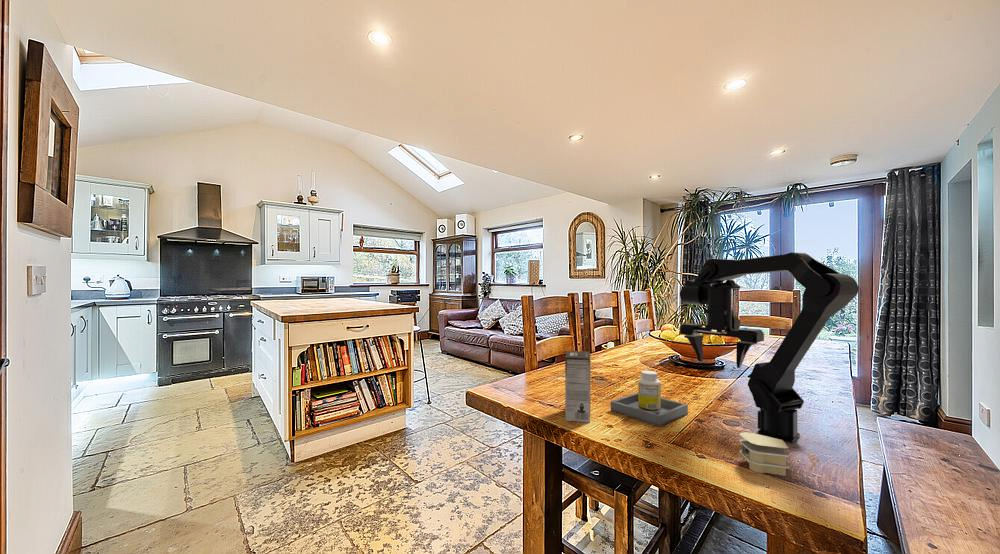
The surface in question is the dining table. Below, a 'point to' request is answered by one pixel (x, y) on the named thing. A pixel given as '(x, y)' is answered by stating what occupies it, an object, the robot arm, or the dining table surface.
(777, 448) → the stacked layers on plate
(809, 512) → the dining table surface
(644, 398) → the supplement bottle
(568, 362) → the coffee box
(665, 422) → the tray
